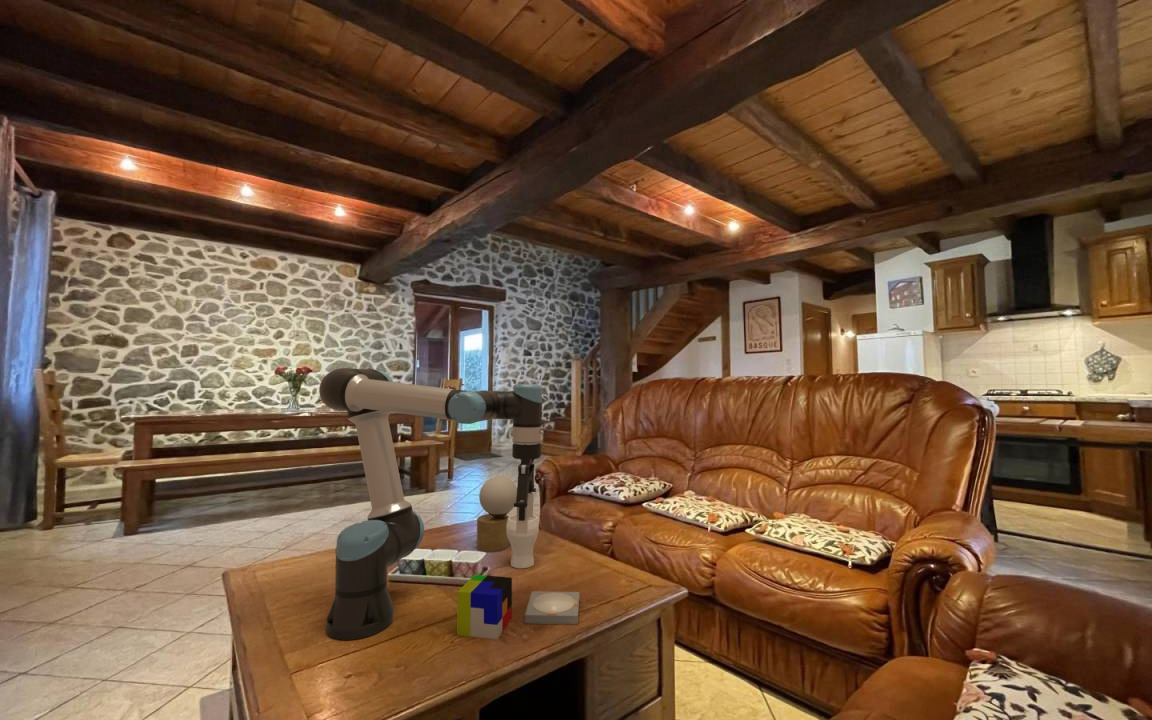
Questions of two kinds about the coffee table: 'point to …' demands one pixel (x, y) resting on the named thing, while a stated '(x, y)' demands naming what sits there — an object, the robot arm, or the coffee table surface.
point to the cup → (522, 542)
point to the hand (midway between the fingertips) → (525, 524)
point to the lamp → (495, 513)
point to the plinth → (553, 608)
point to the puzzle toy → (484, 606)
